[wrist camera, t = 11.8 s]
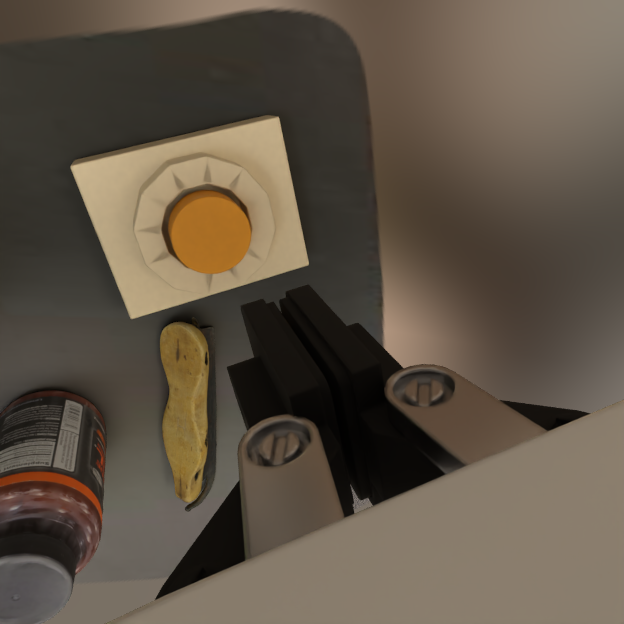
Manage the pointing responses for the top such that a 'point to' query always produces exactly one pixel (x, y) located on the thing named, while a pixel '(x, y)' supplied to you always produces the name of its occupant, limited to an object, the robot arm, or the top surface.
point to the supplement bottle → (48, 501)
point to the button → (209, 232)
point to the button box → (177, 184)
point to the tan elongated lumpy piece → (190, 408)
